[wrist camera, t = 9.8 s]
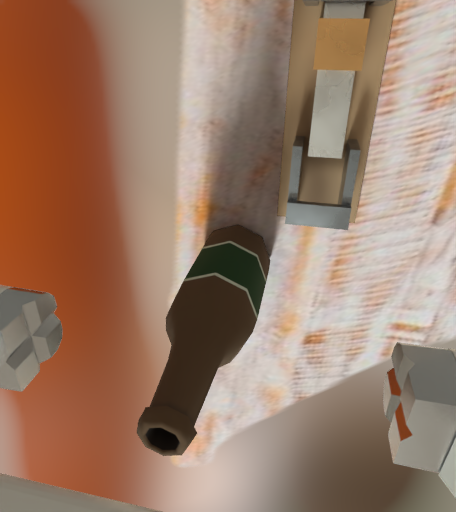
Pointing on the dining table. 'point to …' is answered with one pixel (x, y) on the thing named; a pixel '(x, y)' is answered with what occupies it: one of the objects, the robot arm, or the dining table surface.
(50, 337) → the robot arm
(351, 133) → the board
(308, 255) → the dining table surface
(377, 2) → the socket
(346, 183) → the grey u-shaped bracket
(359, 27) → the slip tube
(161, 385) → the beer bottle
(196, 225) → the dining table surface
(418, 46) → the dining table surface
